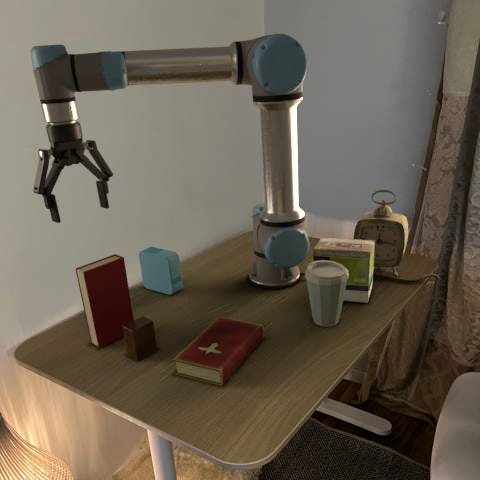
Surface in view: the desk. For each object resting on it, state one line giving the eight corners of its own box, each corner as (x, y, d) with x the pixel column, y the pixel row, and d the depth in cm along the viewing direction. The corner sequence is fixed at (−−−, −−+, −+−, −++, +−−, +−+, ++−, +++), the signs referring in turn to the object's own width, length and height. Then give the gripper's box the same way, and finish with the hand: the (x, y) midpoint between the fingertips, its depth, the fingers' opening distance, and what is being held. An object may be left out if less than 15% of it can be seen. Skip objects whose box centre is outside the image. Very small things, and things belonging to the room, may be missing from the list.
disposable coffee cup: (352, 315, 133) (355, 261, 126) (339, 335, 125) (341, 278, 118) (313, 308, 138) (314, 256, 131) (298, 327, 130) (298, 271, 122)
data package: (183, 290, 153) (178, 252, 147) (173, 296, 150) (168, 257, 144) (153, 282, 159) (148, 245, 153) (143, 288, 156) (137, 250, 150)
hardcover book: (263, 339, 125) (263, 324, 123) (222, 386, 109) (221, 369, 107) (220, 330, 130) (219, 315, 128) (175, 374, 114) (172, 358, 112)
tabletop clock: (351, 275, 156) (355, 192, 144) (357, 263, 163) (362, 184, 151) (401, 280, 150) (409, 195, 139) (405, 268, 158) (413, 186, 146)
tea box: (372, 289, 146) (376, 239, 139) (367, 304, 138) (371, 252, 131) (320, 284, 151) (321, 235, 144) (312, 298, 143) (312, 248, 136)
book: (123, 257, 123) (115, 253, 125) (83, 272, 116) (75, 268, 118) (135, 330, 132) (127, 325, 134) (99, 347, 125) (91, 343, 127)
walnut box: (157, 350, 124) (153, 320, 120) (137, 360, 120) (132, 331, 116) (147, 344, 126) (142, 315, 122) (127, 355, 122) (121, 325, 118)
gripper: (99, 114, 127) (114, 200, 137) (1, 129, 111) (26, 225, 121) (118, 115, 122) (131, 204, 132) (18, 131, 106) (42, 230, 116)
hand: (81, 214), depth 127 cm, fingers open, 13 cm apart
